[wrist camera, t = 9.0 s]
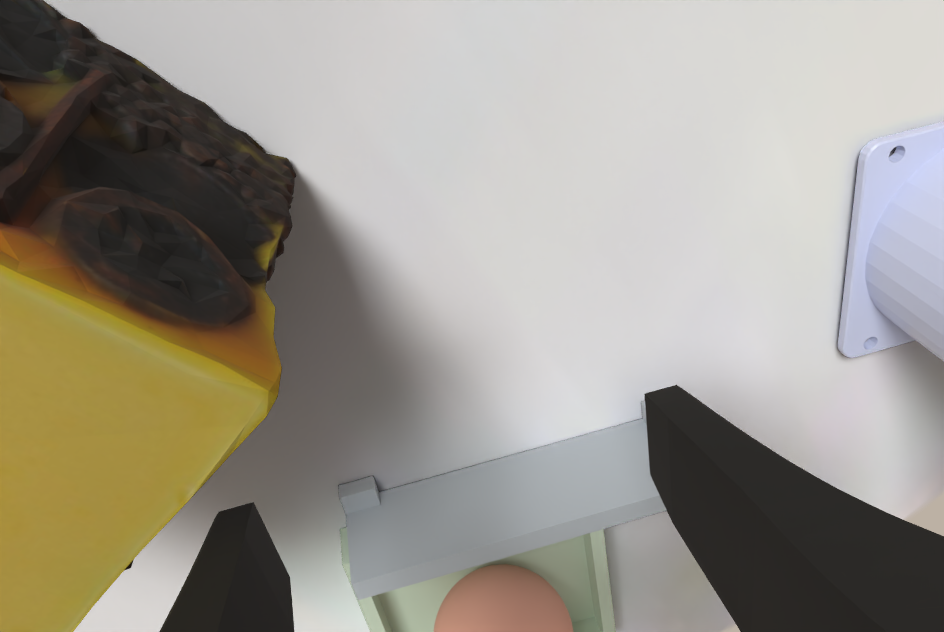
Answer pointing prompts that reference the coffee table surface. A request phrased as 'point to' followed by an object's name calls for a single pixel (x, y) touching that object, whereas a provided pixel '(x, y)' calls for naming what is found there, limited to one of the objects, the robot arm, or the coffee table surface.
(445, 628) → the ball
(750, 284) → the coffee table surface
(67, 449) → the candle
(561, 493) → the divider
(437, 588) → the tray
